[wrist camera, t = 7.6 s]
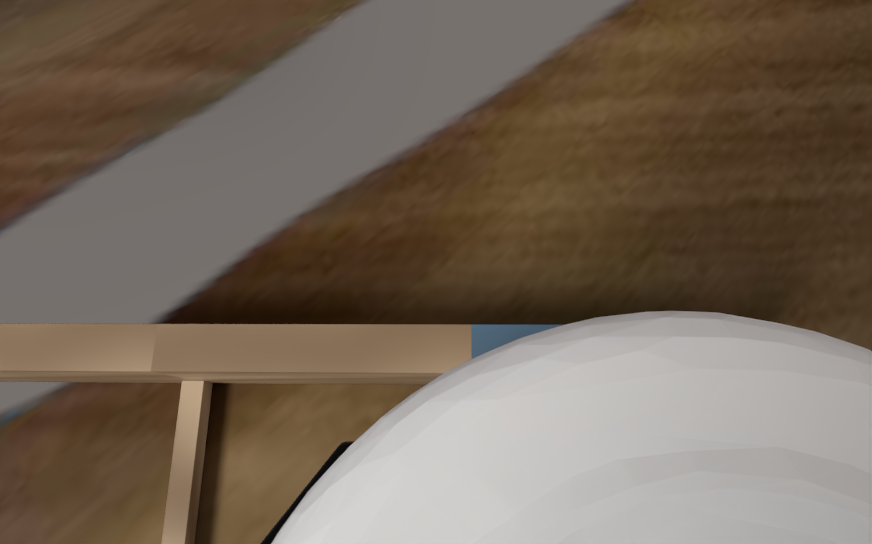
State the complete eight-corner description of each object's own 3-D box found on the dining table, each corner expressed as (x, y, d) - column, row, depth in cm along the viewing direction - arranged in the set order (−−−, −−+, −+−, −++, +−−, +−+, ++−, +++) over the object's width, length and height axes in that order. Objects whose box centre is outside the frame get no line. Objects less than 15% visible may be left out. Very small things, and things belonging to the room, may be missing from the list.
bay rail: (767, 698, 18) (848, 767, 15) (-119, 674, 20) (-261, 731, 16) (722, 345, 22) (779, 325, 18) (-41, 342, 23) (-143, 323, 19)
